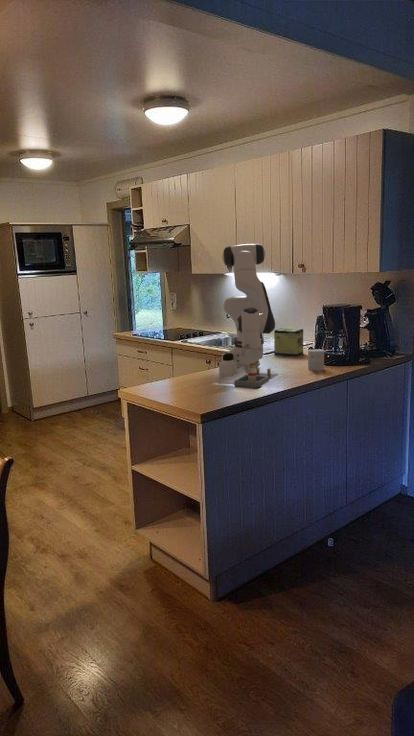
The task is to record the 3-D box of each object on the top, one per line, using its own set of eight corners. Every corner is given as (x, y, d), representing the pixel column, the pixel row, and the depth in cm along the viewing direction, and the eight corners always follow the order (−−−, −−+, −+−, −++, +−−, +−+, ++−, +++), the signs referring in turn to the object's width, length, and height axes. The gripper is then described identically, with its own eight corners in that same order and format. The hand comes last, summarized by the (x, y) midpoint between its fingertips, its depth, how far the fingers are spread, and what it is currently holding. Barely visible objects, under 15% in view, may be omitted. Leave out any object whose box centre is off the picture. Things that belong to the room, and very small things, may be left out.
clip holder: (247, 379, 264) (247, 369, 262) (257, 374, 274) (256, 365, 273) (270, 381, 258) (270, 371, 257) (278, 376, 268) (278, 366, 267)
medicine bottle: (236, 375, 275) (236, 352, 272) (231, 378, 268) (231, 355, 266) (224, 374, 278) (223, 351, 275) (219, 377, 271) (218, 354, 269)
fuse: (246, 383, 252) (245, 364, 250) (250, 381, 256) (250, 363, 254) (253, 383, 250) (253, 365, 248) (257, 382, 253) (257, 363, 252)
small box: (322, 368, 284) (323, 349, 281) (324, 370, 278) (324, 350, 276) (307, 368, 284) (307, 349, 282) (308, 370, 279) (308, 351, 277)
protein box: (297, 356, 318) (297, 331, 314) (273, 354, 326) (273, 330, 323) (303, 353, 326) (303, 329, 323) (280, 352, 335) (280, 327, 331)
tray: (234, 386, 250) (234, 380, 249) (246, 380, 262) (246, 374, 261) (257, 389, 244) (257, 382, 244) (268, 382, 256) (268, 376, 256)
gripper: (248, 346, 238) (249, 376, 241) (265, 339, 256) (265, 367, 259) (236, 346, 241) (236, 375, 244) (253, 339, 259) (253, 366, 262)
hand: (251, 371), depth 252 cm, fingers open, 8 cm apart
